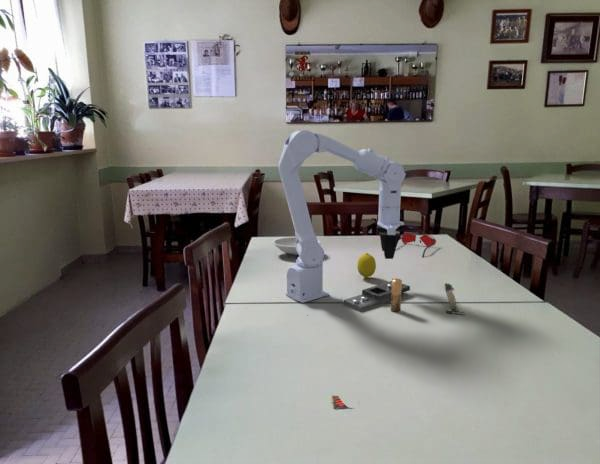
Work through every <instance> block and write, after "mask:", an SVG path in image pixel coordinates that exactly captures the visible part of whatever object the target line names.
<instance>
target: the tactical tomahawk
mask: <svg viewBox="0 0 600 464" xmlns="http://www.w3.org/2000/svg"><path fill="white" fill-rule="evenodd" d="M452 286H453V285H452V284H450V283H447V282H445V283H444V287H445V288H444V289H445V293H446V297H447V298H448V301H449V302H448V303H449V305H450V307H451V310H449V309H446V311H445V312H446V314H447V315H454V316H455V315H456V316H462V317H463V316H466V314H465V311H460V309H458V308H457V304H456V301H455V296H454V294H453V291H452Z"/></svg>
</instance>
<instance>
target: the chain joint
mask: <svg viewBox="0 0 600 464" xmlns="http://www.w3.org/2000/svg"><path fill="white" fill-rule="evenodd" d="M391 289H392V280H391V281H388V282H383V283H381V284H378V285H374V286H371V287H367V288H364V289H362V290H361V294H359V295H355V296H352V297H350V298H346V299H343V305H344V306H346V307H348V308H351V309H353V310H355V311H358V312H363V311H366V310H369V309H372V308H374V307H377V306H380V305H383V304H386V303H390V302H391ZM408 291H411V286H410V285H408V284H405V283H402V288H401V294H403V293H404V294H405V293H407V292H408Z"/></svg>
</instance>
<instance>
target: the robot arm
mask: <svg viewBox="0 0 600 464" xmlns="http://www.w3.org/2000/svg"><path fill="white" fill-rule="evenodd" d="M325 152H327V153H329V154H332V155H334V156H336V157H339V158H341V159H344V160H346V161H350V162H351V163H352V164H353V166H354V169H355V170H357V171H359V172H362V173H364V174H366V175H369V176H370V177H373V178H375V179H378V180H379V190H378V191H379V193H378V215H377V216H378V217H377V218H378V220H377V226H376V229H377V231H378V234H379V238H380V239H379V240H380V244H381V250H382V251H381V252H383V255H384V259H385V260H387V259H388V260H390V259H391V260H393V259H394V257H395V253H396V250H397V245H398V244H399V241H400V240H401V239H400V238H401V237H402V234H401V233H397V232H396V231H397V229H398V228H399V227H400V226H404V225H405V222H404V221H401V220H400V219H401V218H400V217H401V212H400V211H401V201H402V199H401V196H402V183H403V181H404V180H405V178H406V176H407V175H406V172H405V168H404V167H403V166H402V164H401V163H399V162H395V161H392V160H390V157H389V156H382V155H380V154H377V153H376V152H375V150H374V149H372V148H367V149H366V148H362V149H360V150H356V149H354V148H353V147H350V146H347V145H346V144H344V143H342V142H340V141H338V140H335V139H333V138H331V137H330V136H327V135H324V134H320V133H316V132H312V131H310V130H306V129H303V130H302V129H297V130H294V131H293V132H292V133H290V134H289V136H288V137H287V139H285V141H284V143H283V149H282V151H281V155H280V158H279V161H278V164H277V165H278V166H277V169H278V173H279V177H280V180H281V183H282V184H281V185H282V187H283V191H284V194H285V198H286V201H287V206H288V209H289V210H288V211H289V214H290V217H291V220H292V223H293V228H294V233H295V234H294V235H295V236H294V237H296V245H295V249H296V252H297V254H298V257H297V259H296V260H295V265H293V266H292V267H290V268H288V269H287V271H286V292H285V293H284V294H285V296H288V297H290V298H292V299H293V300H296V301H298V302H299V303H303V304H304V303H306V302H310V301H313V300H316V299H320V298H324V297H327V296H330V292H328V291H325V290H323V289H324V288H323V287H324V283H323V281H324V280H323V279H324V277H323V270H324V269H323V267H324V266H323V265H324V262H323V261H324V258H325V251H324V248H323V247H322V246H321V244H319V243H318V241H317V240H318V238H317V236H316V233H315V230H314V227H313V224H312V219H311V216H310V213H309V208H308V204H307V201H306V196H305V193H304V190H303V189H304V188H303V185H302V182H301V177H300V174H299V170H300V168H301V167H302V165H303V164H304V162H305V161H306V160H307V159H308V158H309V157H311V156H312V155H313V154H314V153H325Z"/></svg>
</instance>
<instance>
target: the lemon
mask: <svg viewBox="0 0 600 464" xmlns="http://www.w3.org/2000/svg"><path fill="white" fill-rule="evenodd" d="M356 266H357V267H356V268H357V272H358V273H359V275H360V276H362V277H364V278H365V279H368V278H369V277H371V276H373V275H374V274H375V272H376V269H377V262H376V259H375V257H374V256H373V255H372V254H370V253H368V252H365V253H364V254H362V255H360V257H359V258H358V260H357V265H356Z"/></svg>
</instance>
